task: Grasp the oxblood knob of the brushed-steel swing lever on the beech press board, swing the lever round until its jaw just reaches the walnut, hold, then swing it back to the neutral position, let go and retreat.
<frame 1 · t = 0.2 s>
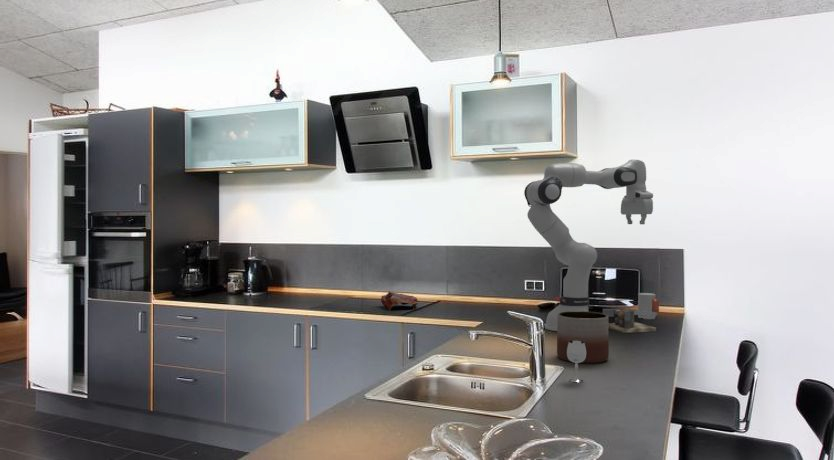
hand: (635, 224, 284), 47 cm above the counter, fingers open, 8 cm apart
lever: (630, 307, 275), point 9 cm above the counter, hinge at -18.0°
planter: (582, 359, 216), on the counter
meat: (400, 308, 341), on the counter
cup: (646, 318, 305), on the counter
wineglass: (576, 381, 186), on the counter
press base: (617, 328, 277), on the counter
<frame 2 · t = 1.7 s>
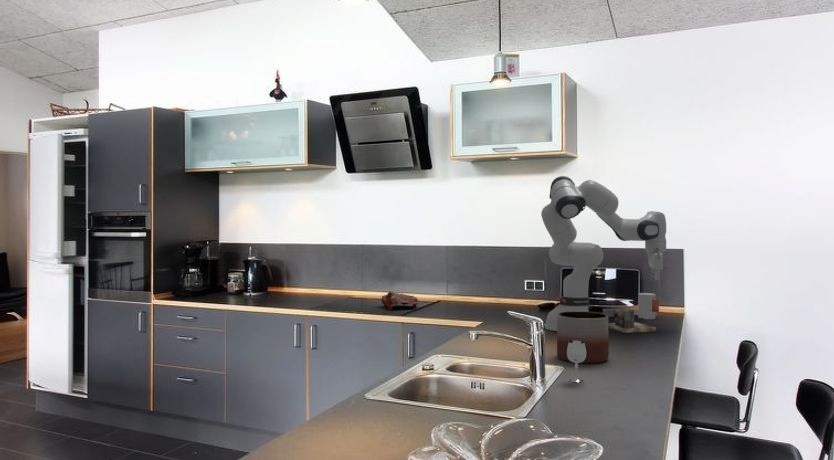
hand: (655, 278, 272), 23 cm above the counter, fingers open, 8 cm apart
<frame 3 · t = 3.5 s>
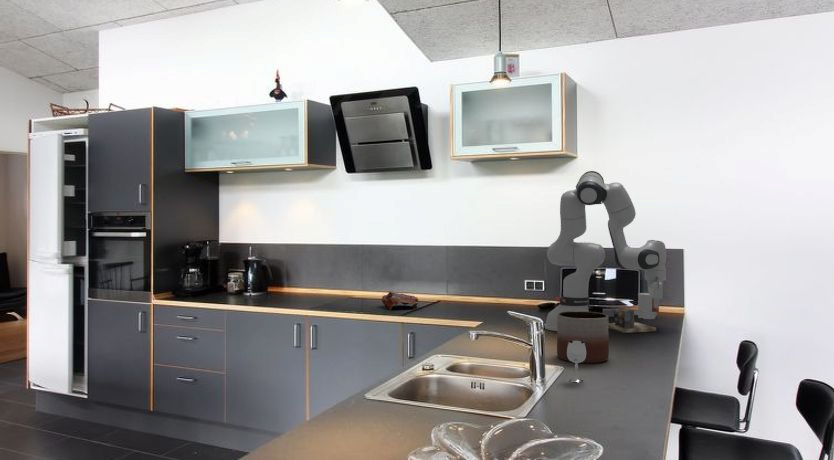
hand: (655, 307, 273), 10 cm above the counter, fingers closed on lever, 3 cm apart
lever: (630, 307, 275), point 9 cm above the counter, hinge at -18.0°, touching gripper
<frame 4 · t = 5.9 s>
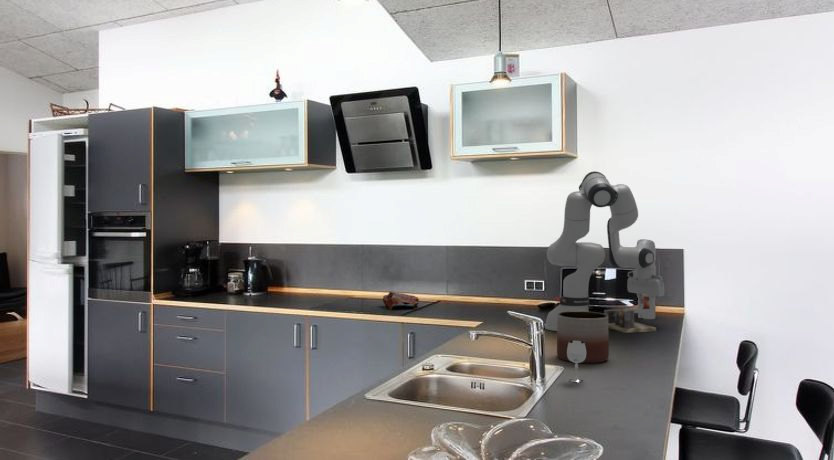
hand: (645, 304, 282), 10 cm above the counter, fingers open, 4 cm apart
lever: (627, 306, 278), point 9 cm above the counter, hinge at 16.1°, touching gripper
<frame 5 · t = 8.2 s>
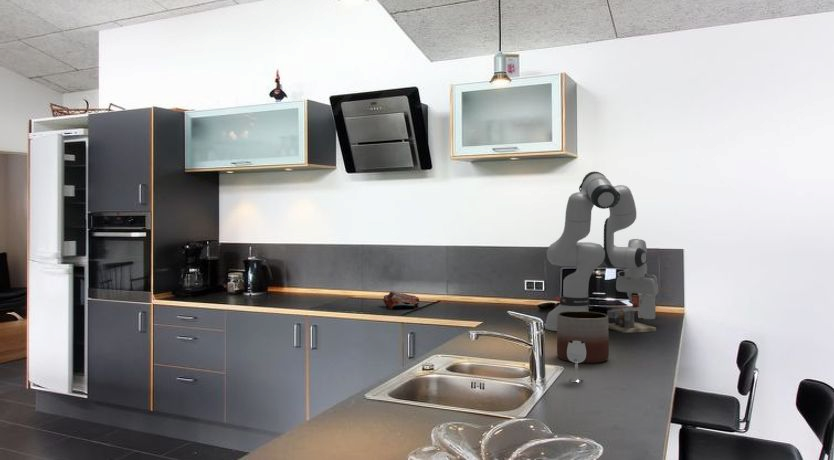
hand: (636, 302, 287), 10 cm above the counter, fingers open, 4 cm apart
lever: (624, 306, 280), point 9 cm above the counter, hinge at 37.8°, touching gripper
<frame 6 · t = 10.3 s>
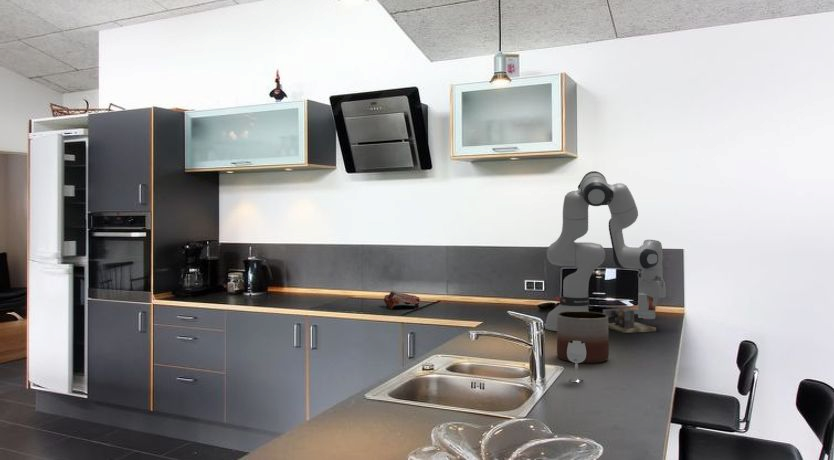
hand: (652, 305, 278), 10 cm above the counter, fingers open, 3 cm apart
lever: (629, 307, 277), point 9 cm above the counter, hinge at 0.9°
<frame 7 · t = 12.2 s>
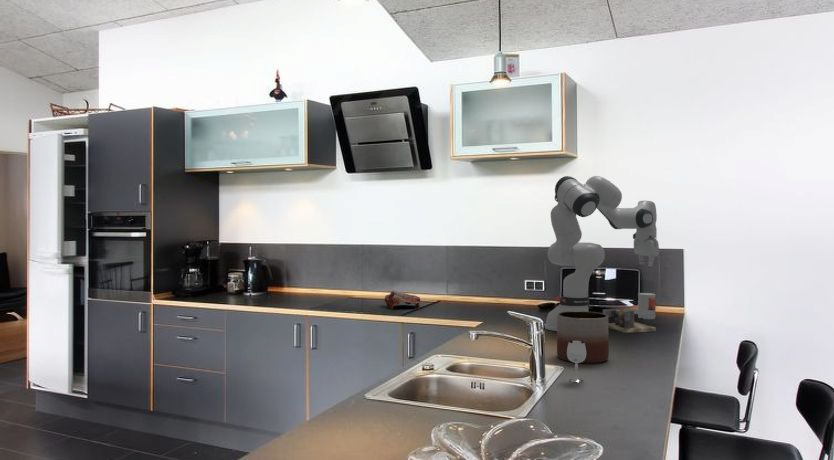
hand: (646, 265, 284), 28 cm above the counter, fingers open, 8 cm apart
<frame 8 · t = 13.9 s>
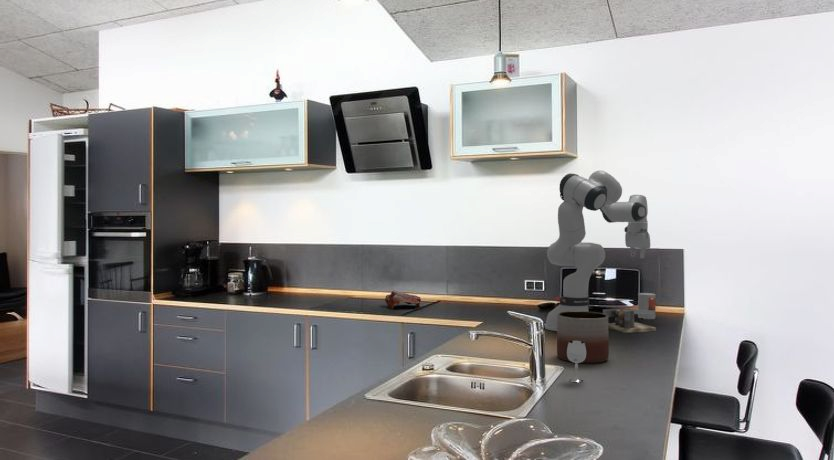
hand: (637, 257, 292), 31 cm above the counter, fingers open, 8 cm apart
at the end: lever at +1° (first picture: -18°); the gripper is holding nothing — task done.
